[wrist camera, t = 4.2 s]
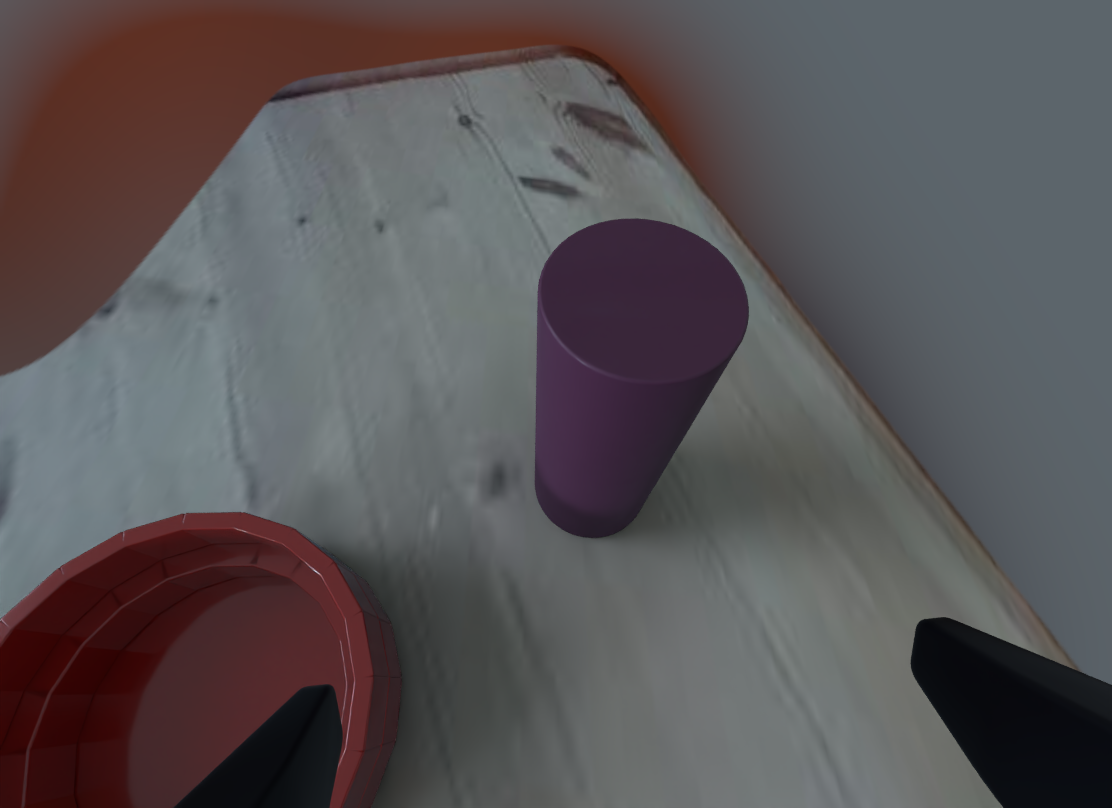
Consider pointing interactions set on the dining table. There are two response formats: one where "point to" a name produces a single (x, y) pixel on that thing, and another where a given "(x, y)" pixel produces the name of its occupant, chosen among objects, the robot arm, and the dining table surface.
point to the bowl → (187, 663)
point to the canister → (625, 363)
